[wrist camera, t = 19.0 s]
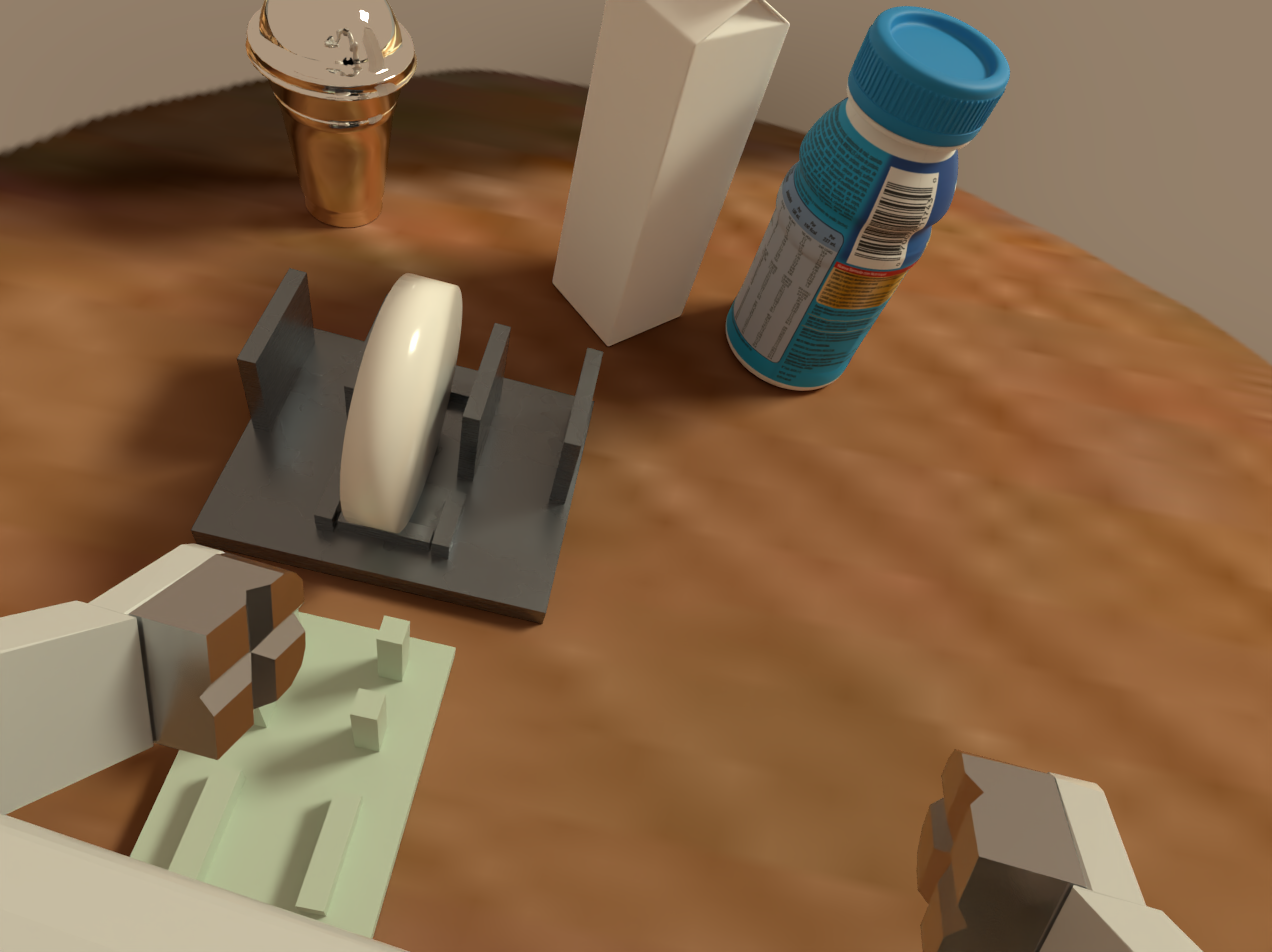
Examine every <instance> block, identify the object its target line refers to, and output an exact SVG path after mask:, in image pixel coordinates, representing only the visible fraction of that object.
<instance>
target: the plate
mask: <svg viewBox="0 0 1272 952" xmlns="http://www.w3.org/2000/svg"><path fill="white" fill-rule="evenodd" d="M461 325H462V295H461V290H460V288H459V287H458V286H457V285H453V284H450V283H446V282H442V281H438V280H434V279H431V278H427V277H423V276H419V275H416V274H412V273H406V274H404V275H402V276H401V277H400V278H399V279H398V280H397V282H396V283H395V284H394V286H393V287H392V289H391V290H390V292H389V294H388V296H387V297H386V299H385V301H384V303H383V305H382V307H381V310H380V312H379V314H378V317H377V319H376V321H375V324H374V327H373V329H372V332H371V334H370V337H369V340H368V343H367V346H366V349H365V352H364V355H363V359H362V362H361V365H360V369H359V372H358V376H357V380H356V384H355V388H354V392H353V396H352V400H351V405H350V409H349V414H348V420H347V425H346V430H345V437H344V443H343V451H342V459H341V470H340V502H341V509H342V513H343V516H344V518H345V519H346V521H348V522H349V523H354V524H358V525H362V526H367V527H371V528H375V529H380V530H384V531H388V532H392V533H400V532H401V531H402V530H403V529H404V528H405V526H406V525H407V523H408V522H409V520H410V518H411V516H412V514H413V512H414V510H415V508H416V506H417V503H418V501H419V498H420V496H421V494H422V491H423V488H424V485H425V483H426V480H427V477H428V474H429V471H430V468H431V465H432V462H433V459H434V455H435V452H436V449H437V445H438V442H439V438H440V434H441V431H442V427H443V423H444V419H445V415H446V411H447V407H448V402H449V398H450V393H451V389H452V384H453V379H454V373H455V368H456V362H457V356H458V350H459V343H460V335H461Z"/></svg>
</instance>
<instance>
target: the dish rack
mask: <svg viewBox="0 0 1272 952" xmlns="http://www.w3.org/2000/svg"><path fill="white" fill-rule="evenodd" d="M387 296H388V294H387V295H386V297H387ZM386 297H385V299H386ZM385 299H384V301H385ZM384 301H383V303H384ZM383 303H382V305H383ZM382 305H381V307H382ZM380 310H381V308H380ZM380 310H379V312H380ZM379 312H378V314H379ZM378 314H377V316H376V318H375V320H374V323H373V325H372V327H371V329H370V331H369V333H368V335H367V337H366V340H365V341H361V340H357V339H353V338H350V337H346V336H342V335H338V334H334V333H330V332H327V331H323V330H319V329H315V328H313V321H312V313H311V305H310V296H309V288H308V280H307V273H306V272H302V271H298V270H295V269H291V268H289V270H288V272H287V274H286V275H285V277H284V279H283V280H282V282H281V284H280V286H279V287H278V289H277V291H276V292H275V294H274V296H273V298H272V299H271V301H270V303H269V304H268V306H267V308H266V310H265V311H264V313H263V315H262V316H261V318H260V320H259V322H258V323H257V325H256V327H255V328H254V330H253V332H252V334H251V335H250V337H249V339H248V340H247V342H246V344H245V346H244V347H243V349H242V351H241V352H240V354H239V356H238V358H237V361H238V365H239V370H240V374H241V378H242V382H243V386H244V390H245V395H246V399H247V403H248V407H249V411H250V415H251V420H250V421H249V423H248V425H247V427H246V429H245V431H244V433H243V434H242V436H241V438H240V440H239V442H238V444H237V446H236V447H235V449H234V451H233V453H232V455H231V457H230V459H229V460H228V462H227V464H226V466H225V468H224V470H223V472H222V473H221V475H220V477H219V479H218V481H217V483H216V485H215V486H214V488H213V490H212V492H211V494H210V496H209V497H208V499H207V501H206V503H205V505H204V507H203V509H202V510H201V512H200V514H199V516H198V518H197V520H196V522H195V523H194V525H193V527H192V529H191V531H192V534H193V536H194V539H195V541H196V543H197V544H201V545H206V546H210V547H214V548H219V549H223V550H227V551H232V552H236V553H240V554H244V555H249V556H253V557H257V558H262V559H266V560H270V561H275V562H279V563H283V564H287V565H292V566H296V567H300V568H305V569H309V570H313V571H318V572H322V573H326V574H330V575H335V576H339V577H343V578H348V579H352V580H356V581H361V582H365V583H369V584H373V585H378V586H382V587H386V588H391V589H395V590H399V591H404V592H408V593H412V594H416V595H421V596H425V597H429V598H434V599H438V600H442V601H447V602H451V603H455V604H460V605H464V606H468V607H472V608H477V609H481V610H485V611H490V612H494V613H498V614H503V615H507V616H511V617H515V618H520V619H524V620H528V621H533V622H537V623H541V624H542V623H543V620H544V617H545V614H546V610H547V605H548V601H549V597H550V592H551V588H552V584H553V579H554V575H555V571H556V566H557V562H558V558H559V553H560V549H561V545H562V540H563V536H564V531H565V527H566V523H567V518H568V514H569V510H570V505H571V501H572V497H573V492H574V488H575V484H576V479H577V475H578V470H579V466H580V462H581V457H582V453H583V449H584V444H585V440H586V436H587V431H588V427H589V423H590V418H591V414H592V409H593V405H594V401H592V399H593V394H594V390H595V386H596V381H597V377H598V373H599V368H600V364H601V360H602V355H603V352H602V351H599V350H595V349H591V348H587V352H586V356H585V360H584V363H583V367H582V371H581V375H580V379H579V383H578V387H577V390H576V394H575V396H572V395H569V394H565V393H561V392H557V391H553V390H549V389H546V388H542V387H538V386H534V385H530V384H526V383H523V382H519V381H515V380H511V379H507V378H504V372H505V365H506V358H507V351H508V344H509V338H510V331H511V327H509V326H505V325H501V324H497V323H495V324H494V327H493V330H492V333H491V336H490V339H489V341H488V344H487V347H486V350H485V353H484V356H483V359H482V362H481V365H480V367H479V370H478V371H476V370H473V369H469V368H465V367H461V366H457V365H456V368H455V373H454V379H453V384H452V389H451V393H450V398H449V402H448V407H447V411H446V415H445V419H444V423H443V427H442V431H441V434H440V438H439V442H438V445H437V449H436V452H435V455H434V459H433V462H432V465H431V468H430V471H429V474H428V477H427V480H426V483H425V485H424V488H423V491H422V494H421V496H420V498H419V501H418V503H417V506H416V508H415V510H414V512H413V514H412V516H411V518H410V520H409V522H408V523H407V525H406V526H405V528H404V529H403V530H402V531H401V532H400V533H392V532H388V531H384V530H380V529H375V528H371V527H367V526H362V525H358V524H354V523H349V522H348V521H346V519H345V518H344V516H343V513H342V509H341V502H340V470H341V459H342V451H343V443H344V437H345V430H346V425H347V420H348V414H349V409H350V405H351V400H352V396H353V392H354V388H355V384H356V380H357V376H358V372H359V369H360V365H361V362H362V359H363V355H364V352H365V349H366V346H367V343H368V340H369V337H370V334H371V332H372V329H373V327H374V324H375V321H376V319H377V317H378Z"/></svg>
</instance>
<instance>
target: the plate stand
mask: <svg viewBox="0 0 1272 952" xmlns="http://www.w3.org/2000/svg"><path fill="white" fill-rule="evenodd" d="M294 614H295V616H296V617H297V619H298V620H299V622H300V623H301V625H302V627H303V628H304V630H305V640H306V648H305V652H304V657H303V662H302V666H301V668H300V670H299V671H298V673H297V675H296V677H295V679H294V681H293V683H292V685H291V686H290V688H289V689H288V690H287V691H286V692H285V693H284V694H283V695H282V696H281V697H280V698H279V699H278V700H277V701H275V702H273V703H270V704H267V705H264V706H262V707H259V708H256V709H254V725H253V726H252V727H251V728H250V729H249V730H248V731H247V732H246V733H245V734H244V735H243V736H242V737H241V738H240V739H239V740H238V741H237V742H236V743H235V744H234V745H233V746H232V747H231V748H230V749H229V750H228V751H227V752H226V753H225V754H224V755H223V756H222V757H221V758H220V759H219V760H215V759H211V758H207V757H204V756H200V755H197V754H193V753H189V752H186V751H182V750H179V752H178V754H177V756H176V758H175V760H174V762H173V765H172V767H171V769H170V771H169V773H168V775H167V778H166V780H165V782H164V784H163V786H162V788H161V791H160V793H159V795H158V797H157V799H156V801H155V803H154V806H153V808H152V810H151V812H150V814H149V816H148V819H147V821H146V823H145V825H144V827H143V829H142V831H141V834H140V836H139V838H138V840H137V842H136V844H135V847H134V849H133V851H132V853H131V855H130V857H131V858H134V859H137V860H140V861H143V862H146V863H149V864H152V865H155V866H158V867H161V868H163V869H166V870H169V871H172V872H175V873H178V874H181V875H184V876H187V877H190V878H193V879H196V880H199V881H202V882H205V883H208V884H211V885H214V886H217V887H220V888H223V889H226V890H229V891H232V892H235V893H238V894H240V895H243V896H246V897H249V898H252V899H255V900H258V901H261V902H264V903H267V904H270V905H273V906H276V907H279V908H282V909H285V910H288V911H291V912H294V913H297V914H300V915H303V916H306V917H309V918H312V919H315V920H317V921H320V922H323V923H326V924H329V925H332V926H335V927H338V928H341V929H344V930H347V931H350V932H353V933H356V934H359V935H362V936H365V937H368V938H371V939H373V935H374V932H375V929H376V925H377V922H378V918H379V915H380V911H381V908H382V904H383V901H384V898H385V894H386V891H387V887H388V884H389V880H390V877H391V873H392V870H393V867H394V863H395V860H396V856H397V853H398V849H399V846H400V843H401V839H402V836H403V832H404V829H405V825H406V822H407V818H408V815H409V812H410V808H411V805H412V801H413V798H414V794H415V791H416V787H417V784H418V781H419V777H420V774H421V770H422V767H423V763H424V760H425V756H426V753H427V750H428V746H429V743H430V739H431V736H432V732H433V729H434V725H435V722H436V719H437V715H438V712H439V708H440V705H441V701H442V698H443V694H444V691H445V688H446V684H447V681H448V677H449V674H450V670H451V667H452V663H453V660H454V657H455V649H456V648H455V647H451V646H446V645H442V644H438V643H433V642H429V641H425V640H420V639H416V638H411V637H410V621H406V620H402V619H397V618H393V617H389V616H384V618H383V621H382V624H381V627H380V630H376V629H372V628H367V627H363V626H359V625H354V624H350V623H345V622H341V621H337V620H332V619H328V618H323V617H319V616H315V615H310V614H306V613H301V612H298V610H297V611H296V612H295V613H294Z"/></svg>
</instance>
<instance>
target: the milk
mask: <svg viewBox="0 0 1272 952" xmlns="http://www.w3.org/2000/svg"><path fill="white" fill-rule="evenodd" d="M789 26H790V23H789V22H788V21H787V20H786V19H785V18H784V17H783V16H781V15H780V14H779V13H778V12H777V11H776V10H775V9H774V8H773V7H772V6H771V5H769V4H768V3H767V2H766V1H765V0H606V3H605V9H604V14H603V20H602V24H601V30H600V35H599V40H598V45H597V51H596V56H595V61H594V66H593V72H592V77H591V82H590V87H589V92H588V97H587V103H586V108H585V113H584V118H583V123H582V129H581V134H580V139H579V144H578V150H577V155H576V160H575V165H574V170H573V176H572V181H571V186H570V191H569V197H568V202H567V207H566V212H565V217H564V223H563V228H562V233H561V238H560V244H559V249H558V254H557V259H556V264H555V270H554V275H553V280H552V283H553V284H554V285H555V287H556V288H557V289H558V290H559V291H560V292H561V293H562V295H563V296H564V297H565V298H566V299H567V300H568V302H569V303H570V304H571V305H572V306H573V307H574V308H575V310H576V311H577V312H578V313H579V314H580V315H581V316H582V318H583V319H584V320H585V321H586V322H587V323H588V325H589V326H590V327H591V328H592V329H593V330H594V331H595V333H596V334H597V335H598V336H599V337H600V338H601V340H602V341H603V342H604V343H605V344H606V345H607V346H611V345H613V344H616V343H618V342H620V341H623V340H625V339H627V338H630V337H632V336H634V335H637V334H639V333H642V332H644V331H646V330H649V329H651V328H653V327H656V326H658V325H660V324H663V323H665V322H667V321H670V320H672V319H675V318H677V317H679V316H681V314H682V312H683V309H684V307H685V304H686V301H687V299H688V296H689V293H690V291H691V288H692V285H693V283H694V280H695V277H696V274H697V272H698V269H699V266H700V264H701V261H702V258H703V256H704V253H705V250H706V248H707V245H708V242H709V240H710V237H711V234H712V232H713V229H714V226H715V224H716V221H717V218H718V216H719V213H720V210H721V208H722V205H723V202H724V200H725V197H726V194H727V192H728V189H729V186H730V184H731V181H732V178H733V176H734V173H735V170H736V168H737V165H738V162H739V160H740V157H741V154H742V152H743V149H744V146H745V144H746V141H747V138H748V136H749V133H750V130H751V128H752V125H753V122H754V120H755V117H756V114H757V112H758V109H759V106H760V104H761V101H762V98H763V95H764V92H765V90H766V87H767V85H768V82H769V79H770V77H771V74H772V71H773V69H774V66H775V63H776V61H777V58H778V55H779V52H780V50H781V47H782V45H783V42H784V39H785V37H786V34H787V31H788V28H789Z"/></svg>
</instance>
